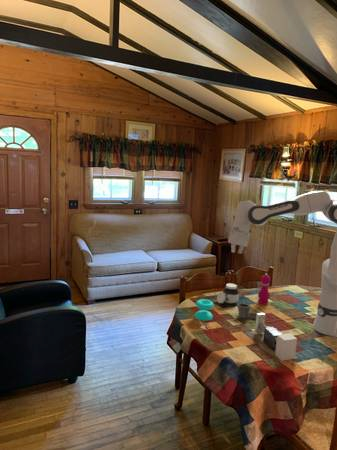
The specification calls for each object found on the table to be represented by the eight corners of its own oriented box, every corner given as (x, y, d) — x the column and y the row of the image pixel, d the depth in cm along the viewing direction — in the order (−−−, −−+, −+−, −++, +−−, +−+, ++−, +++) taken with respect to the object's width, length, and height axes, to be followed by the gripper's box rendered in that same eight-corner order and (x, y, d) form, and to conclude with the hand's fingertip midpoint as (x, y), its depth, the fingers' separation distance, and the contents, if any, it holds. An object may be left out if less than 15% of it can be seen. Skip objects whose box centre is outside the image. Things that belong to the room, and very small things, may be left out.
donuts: (199, 306, 188) (193, 298, 198) (198, 322, 190) (192, 314, 200) (216, 305, 191) (210, 298, 200) (215, 321, 193) (208, 314, 202)
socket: (287, 352, 163) (290, 333, 161) (294, 358, 158) (297, 338, 156) (275, 354, 161) (277, 334, 159) (281, 360, 156) (284, 340, 154)
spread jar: (239, 303, 221) (241, 286, 218) (230, 308, 212) (232, 290, 210) (223, 297, 228) (225, 281, 226) (214, 302, 220) (215, 284, 218)
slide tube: (261, 330, 181) (263, 312, 179) (282, 348, 164) (284, 329, 163) (254, 331, 180) (256, 313, 178) (274, 349, 163) (277, 329, 161)
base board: (266, 331, 185) (266, 329, 185) (299, 359, 159) (299, 357, 159) (244, 333, 181) (244, 331, 181) (275, 363, 155) (275, 361, 155)
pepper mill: (266, 305, 219) (270, 275, 215) (255, 302, 223) (259, 273, 219) (270, 302, 225) (273, 273, 221) (259, 299, 229) (262, 270, 225)
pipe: (258, 322, 195) (260, 309, 193) (235, 319, 197) (237, 306, 196) (258, 318, 201) (259, 305, 199) (236, 314, 203) (237, 302, 202)
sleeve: (271, 340, 173) (273, 326, 172) (281, 349, 166) (283, 334, 164) (263, 341, 172) (264, 327, 170) (272, 350, 164) (274, 335, 163)
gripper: (238, 227, 182) (234, 252, 182) (252, 231, 199) (248, 255, 199) (227, 225, 186) (223, 250, 185) (242, 230, 203) (238, 253, 202)
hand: (236, 252), depth 192 cm, fingers open, 8 cm apart
